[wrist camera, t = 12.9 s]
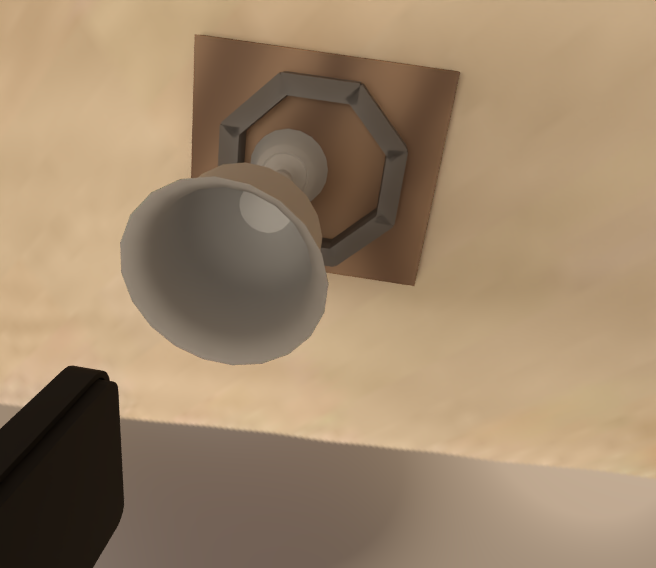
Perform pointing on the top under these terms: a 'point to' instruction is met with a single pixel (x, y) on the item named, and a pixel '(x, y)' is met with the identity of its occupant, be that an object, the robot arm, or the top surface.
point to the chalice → (233, 254)
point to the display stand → (334, 140)
